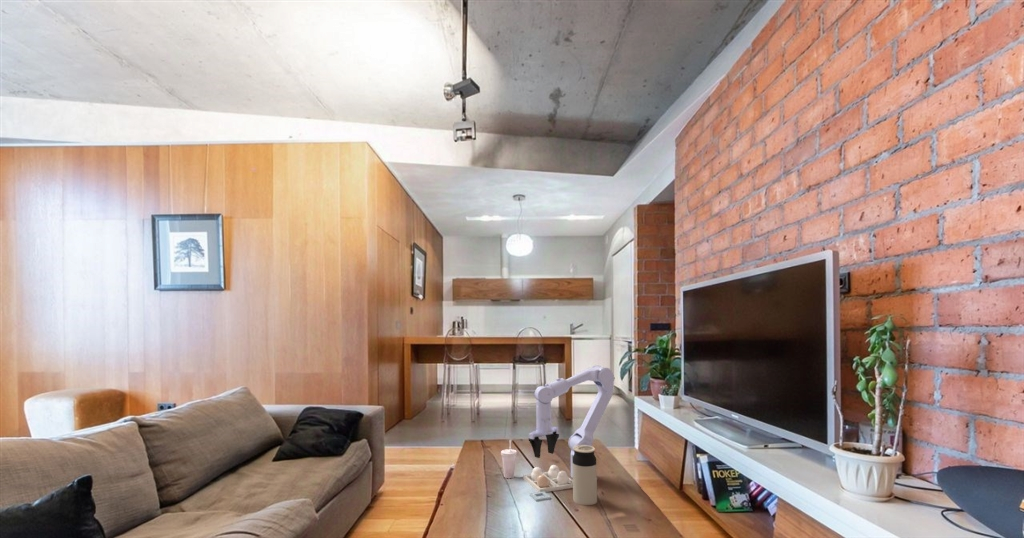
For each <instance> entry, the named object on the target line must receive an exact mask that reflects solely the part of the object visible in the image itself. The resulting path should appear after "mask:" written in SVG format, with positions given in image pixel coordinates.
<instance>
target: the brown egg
mask: <svg viewBox="0 0 1024 538" xmlns="http://www.w3.org/2000/svg"><path fill="white" fill-rule="evenodd" d="M547 477H548V476H547ZM547 477H546V476H545V475H539V476H538V478H537V486H539V487H540V488H546V487H550V485H551V484H550V482H549V479H548V478H549V477H548V478H547Z"/></svg>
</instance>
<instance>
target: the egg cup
mask: <svg viewBox="0 0 1024 538" xmlns="http://www.w3.org/2000/svg"><path fill="white" fill-rule="evenodd" d="M529 496H530V497H531V499H533V500H534V501H535V502H539V501H547V500H551V499H552V496H550V495H549V494H548V492H544V491H542V492H538V491H536V492H531V493H529ZM539 496H540V497H539Z"/></svg>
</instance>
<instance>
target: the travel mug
mask: <svg viewBox="0 0 1024 538" xmlns="http://www.w3.org/2000/svg"><path fill="white" fill-rule="evenodd" d="M573 450H574V453H575V454H574V456H573V478H572V480H573V488H572V498H573V499H572V500H573V502H574V503H575V504H578V505H581V506H592V505H595V504H597V503H598V481H597V479H598V477H597V476H598V475H597V472H598V471H597V470H598V469H597V457H596V455H595V451H596V448H595V447H594V446H593V445H592V446H588V445H578V446H575V447H573Z"/></svg>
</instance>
